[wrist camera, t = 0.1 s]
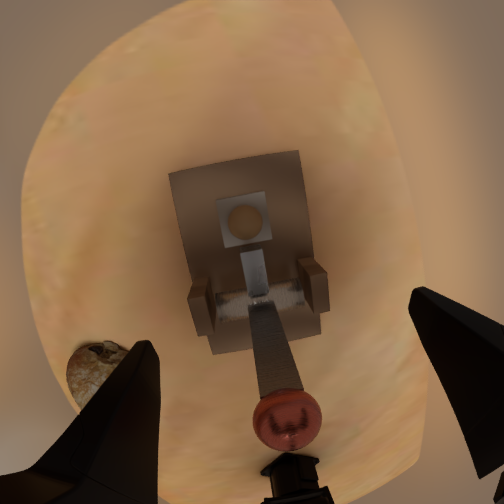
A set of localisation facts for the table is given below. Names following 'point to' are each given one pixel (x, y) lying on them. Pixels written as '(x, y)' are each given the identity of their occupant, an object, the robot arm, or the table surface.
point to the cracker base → (247, 241)
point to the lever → (272, 355)
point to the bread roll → (91, 369)
